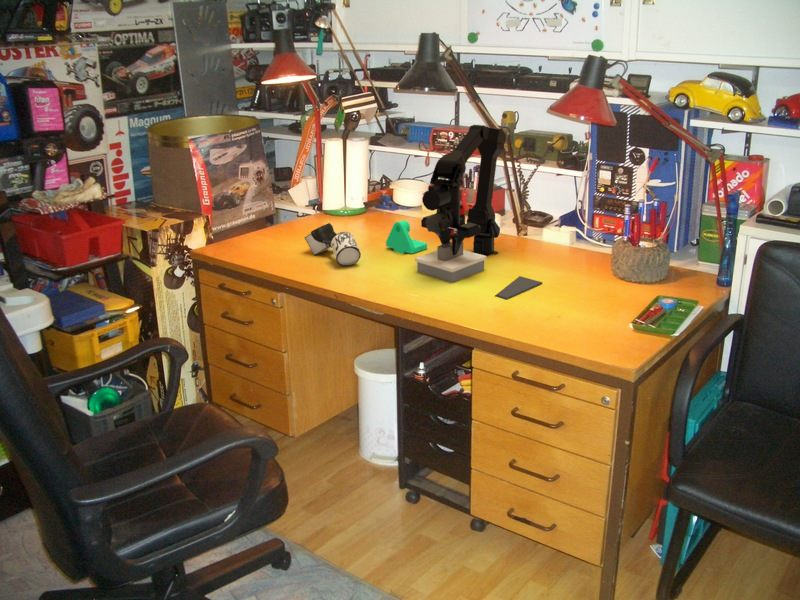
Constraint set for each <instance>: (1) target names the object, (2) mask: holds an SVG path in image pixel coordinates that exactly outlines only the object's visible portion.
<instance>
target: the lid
mask: <svg viewBox="0 0 800 600" xmlns="http://www.w3.org/2000/svg"><path fill="white" fill-rule="evenodd" d="M487 257H488V256H484V255H481V254H477V253H473V251H469V250H465V249H464V241H463V242H462V244H461V246H460V248H459V250H458V252H457V254H456V255H453V249H452V241H450V242H449V243H446V244H443V245H442V244H440V245H438V246H437V250H434V251H431V252H428V253H426V254H423V255H420V256H417V257H414V262H416V263H417V262H419V263H422V264H426V265H429V266H433V267H436V268H439V269H443V270H446V271H450V272H455V271H457V270H460V269H462V268H465V267H468V266H470V265H473V264H475V263H478V262H481V261H483V260H484V261H486V260H487Z"/></svg>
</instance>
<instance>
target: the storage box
mask: <svg viewBox="0 0 800 600" xmlns="http://www.w3.org/2000/svg"><path fill="white" fill-rule="evenodd" d="M416 264H417V273H419V274H422V275H425V276H429V277H432V278H436V279H438V280H442V281H445V282H449V283H452V284H453V283H455V282H458V281H460V280H463V279H465V278H468V277H470V276H473V275H475V274H479V273H481V272H483V271H485V260H483V261H481V262H478V263H475V264H473V265H470V266H468V267H465V268H462V269H460V270H457V271H455V272H450V271H446V270H443V269H439V268H436V267H433V266H429V265H426V264H422V263H419V262H416Z"/></svg>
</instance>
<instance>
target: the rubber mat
mask: <svg viewBox="0 0 800 600" xmlns="http://www.w3.org/2000/svg"><path fill="white" fill-rule="evenodd" d="M541 285H543V282H542V281H539V280H536V279H531V278H529V277H525V276H521V275H519V276H518V277H516V279H514V280H512V282H510V283H509V284H508V285H506V286H505V287H504V288H503V289H501V290H500V291H499V292H498V293H497V294H495V295H494V297H495V298H496V297H497V298H501V299H503V300H507V301H508V300H509V299H511V298H515V297H516V296H518V295H520V294H522V293H525V292H528V291H529V290H533V289H534V288H536V287H538V286H541Z"/></svg>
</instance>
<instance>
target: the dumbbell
mask: <svg viewBox="0 0 800 600" xmlns="http://www.w3.org/2000/svg"><path fill="white" fill-rule="evenodd" d="M304 240H305V241H306V243H307V246H308V247H309V249H310V250H311V252H312V254H313V256H316V254H317V255H319V254H321V253H323V252H324V251H328V250H330V249H332V251H333V254H334V257H335V260H336V262H337V265H339V266H342V267H345V266H346V267H351V266H354V265H355V264H357V263H358V262H359V261H360V259H361V255H362V254H361V251H360V249H359V247H358V245H357V244H358V243H357V242H356V239H355V237H354V235H353V234H352V233H351V232H348V231H341V232H338V233H336V232H335V229H334V227H333V225H332V224H331V222H328V223H327V224H323V225H321V226H319V227H317V228H315V229H313V230H311V231H310V233H309V234H307V235H306V236H304Z"/></svg>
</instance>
